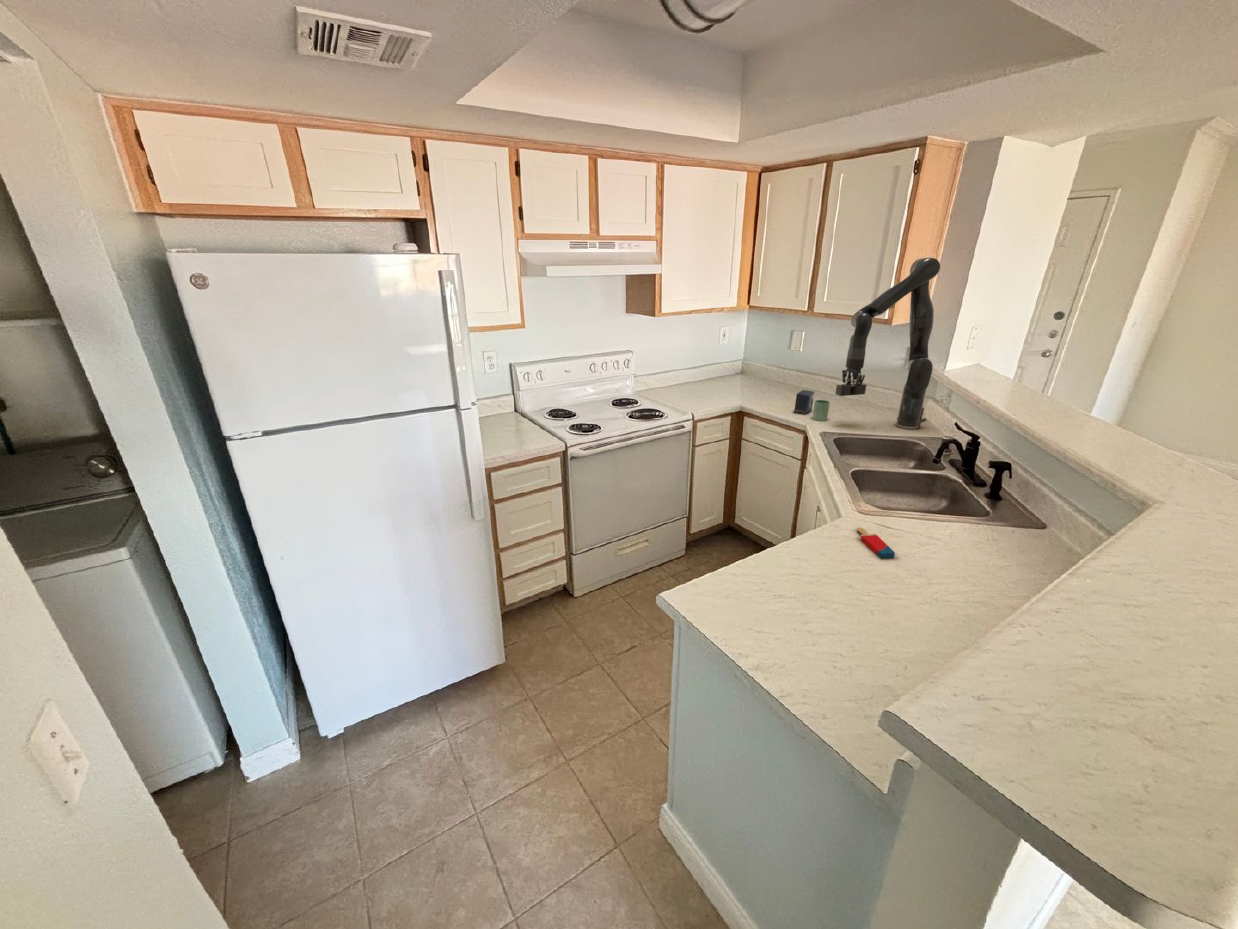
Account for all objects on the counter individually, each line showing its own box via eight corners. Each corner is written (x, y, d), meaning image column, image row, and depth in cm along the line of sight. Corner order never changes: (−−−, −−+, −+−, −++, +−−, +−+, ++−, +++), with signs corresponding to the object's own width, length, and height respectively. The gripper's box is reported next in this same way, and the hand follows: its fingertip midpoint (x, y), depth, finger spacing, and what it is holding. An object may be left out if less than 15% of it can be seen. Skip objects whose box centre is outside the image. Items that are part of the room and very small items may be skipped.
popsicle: (866, 525, 147) (896, 552, 134) (865, 530, 148) (895, 557, 134) (851, 526, 147) (880, 553, 133) (851, 530, 148) (879, 558, 134)
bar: (859, 392, 241) (860, 383, 239) (864, 394, 237) (866, 384, 235) (835, 394, 238) (836, 384, 237) (840, 396, 235) (841, 386, 233)
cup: (822, 416, 257) (824, 399, 253) (829, 420, 251) (832, 402, 247) (810, 417, 256) (812, 400, 252) (817, 421, 249) (820, 403, 246)
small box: (805, 414, 260) (808, 395, 256) (793, 412, 264) (795, 393, 260) (812, 410, 268) (815, 391, 264) (800, 408, 271) (802, 389, 267)
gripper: (873, 359, 226) (867, 396, 232) (853, 354, 238) (847, 389, 245) (858, 360, 224) (852, 397, 230) (839, 355, 237) (834, 390, 243)
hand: (850, 393), depth 238 cm, fingers closed on bar, 4 cm apart
